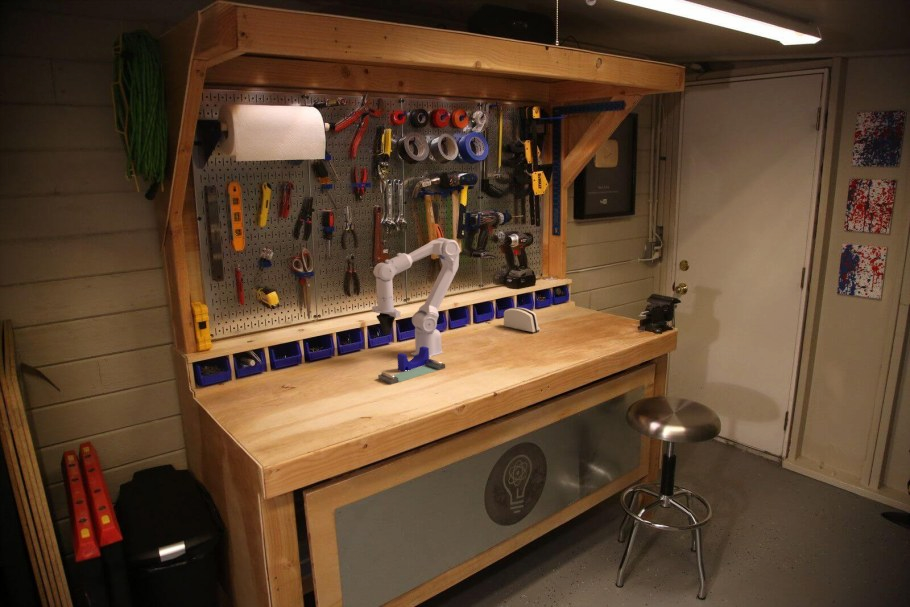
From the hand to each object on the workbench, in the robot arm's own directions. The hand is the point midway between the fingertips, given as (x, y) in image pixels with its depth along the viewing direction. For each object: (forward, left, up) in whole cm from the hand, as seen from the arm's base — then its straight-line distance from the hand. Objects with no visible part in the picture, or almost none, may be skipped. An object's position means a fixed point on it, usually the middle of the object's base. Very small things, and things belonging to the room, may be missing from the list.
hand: (387, 334), depth 219 cm
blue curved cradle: (-2, +12, -10) cm, 16 cm away
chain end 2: (-7, +18, -10) cm, 22 cm away
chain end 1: (+13, +18, -10) cm, 24 cm away
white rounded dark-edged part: (-65, +6, -10) cm, 66 cm away
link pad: (+3, +18, -10) cm, 21 cm away
